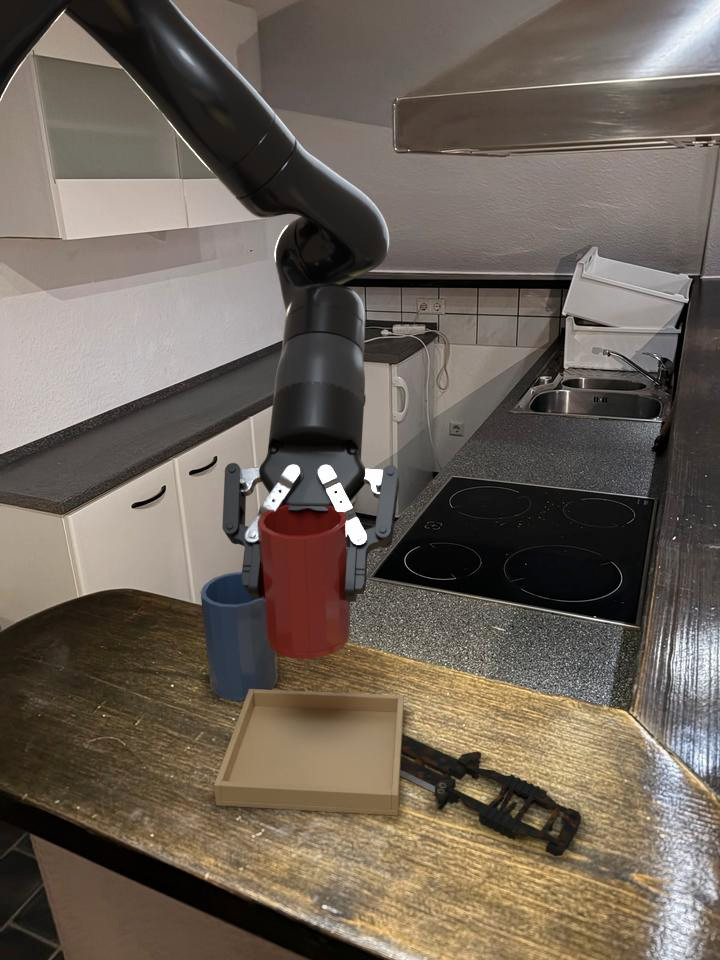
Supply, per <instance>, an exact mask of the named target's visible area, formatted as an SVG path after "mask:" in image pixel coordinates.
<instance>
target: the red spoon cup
mask: <svg viewBox="0 0 720 960" xmlns="http://www.w3.org/2000/svg"><path fill="white" fill-rule="evenodd" d="M290 506H292V505H282V506H281V507H280V508H278V509H277V510H276V512H275V513H274V510H268V511H266V512H265V513H263V514H262V515H261V516H260V518H259V520H258V536H259V550H260V564H261V578H262V591H263V605H264V619H265V632H266V637H267V643H268V645H269V646H270V648H271V649H272V650H273V651H275V652H276V653H277V655H280V656H283V657H285V658H290V659H295V660H314V659H320V658H325V657H328V656H331V655H333V654H335V653H336V652H339V651H340V650H342V649H343V648H344V647H345V646H346V645H347V643H348V641H349V639H350V638H351V637H350V635H351V606H350V605H351V604H350V603H351V602H350V601H346V598H345V577H346V561H347V547H349V540H348V523H347V516H346V514H345V513H344V512H343V511H336V509H335V508H334V506H324V507H326V508H327V509H328V512H325V513H324V512H322V513H320V514H318V513H314V512H311V511H307V512H304V513H298V512H297V513H295V512H290V511H288V508H289V507H290ZM273 513H274V514H273Z"/></svg>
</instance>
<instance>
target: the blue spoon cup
mask: <svg viewBox="0 0 720 960" xmlns="http://www.w3.org/2000/svg"><path fill="white" fill-rule="evenodd" d="M241 575H242V571H237V572H236V571H235V572H229V573H225V574H222V575H219V576H216V577H213V578H211V579H210V580H208V581H207V582H206V583H205V584H203V586H202V587H201V590H200V601H201V609H202V610H201V611H202V621H203V629H204V631H203V632H204V640H205V649H206V661H207V668H208V670H207V671H208V679H209V686H210V689H211V691H212V692H213V693H214V694H215V695H216V696H217V697H220V698H221V699H224V700H228V701H233V702H234V701H235V702H242V701H243V702H245V699H246V696H247V693H248V691H249V689H254V690H255V689H261V690H274V688H275V686H276V685H277V683H278V681H279V658H278V653H276V652H275V651H273V650H272V649H271V648H270V646H269V645H268V643H267V637H266V632H265V619H264V605H263V597H262V599H260V598H252V597H251V596H250V594H249V592H248V591H247V590H246V589H245V587H244V586H243V584H242V580H241Z"/></svg>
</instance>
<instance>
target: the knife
mask: <svg viewBox="0 0 720 960" xmlns="http://www.w3.org/2000/svg"><path fill="white" fill-rule="evenodd" d="M406 756H407V757H406ZM408 757H409V758H408ZM481 758H482V752H480V751H477V750H476V751H472V752H467V753H463V754H461V755H460V756H459V758H456V757H454V756H451V755H449V754H447V753H445V752H442V751H440V750H438V749H436V748H434V747H432V746H429V745H427V744H425V743H423V742H421V741H419V740H416V739H414V738H412V737H409V736H407V735H405V734H403V733H402V749H401V767H400V777H402V778H404V779H406V780H408V781H410V782H412V783H413V784H416V785H418V786H420V787H422V788H424V789H426V790H428V791H430V792H432V793H434V796H435V797H436V799H437V800H436V801H437V805H438V807H437V810H439V811H442V810H443V809H444V808H445V807H446V806H447V804H448V803H450V804H451V805H453V804H456V805H458V803H459V802H460V801H461V802H462V803H463V804H464V805H465V806H466V807H468V808H470V809H472V810H474V811H476V812H478V820H479V822H480V825H481V826H484V827H486V828H487V829H490V830H493V832H496V833H499V834H500V835H501V836H505V837H506V838H508V839H510V840H513V841H515V840H516V839H517V835H518V836H521V838H522V837H529V838H533V839H537V840H538V839H539V840H540V839H543V840H545V841H547V844H546V847H545V853H547V854H550V855H551V856H554V857H562V856H563V854H564V853H565V852H566V850H568V848H569V847H570V846H571V843H572V841H573V840H574V839H575V836H576V835H577V833H578V830H579V827H580V825H581V821H582V816H581V814H580V811H577V810H575V809H573V808H571V807H565V806H563V805H560V804H558V803H557V802H556V801H555V800H554V799H553V798H551V797H550V796H549V795H548V794H547V793H548V791H546V790H544V789H542V788H541V786H539V785H534V783H532V782H530V783H529V782H528V781H527V780H526V779H523V780H522V779H521V777H518V776H517V777H516V776H515V775H514V774H510V775H505V774H503V773H500V772H498V771H497V770H494V769H489V768H488V769H487V768H480V763H481V762H482V761H481ZM411 759H413V760H411ZM424 765H425V766H424ZM426 766H427V767H426ZM428 767H429V768H428ZM430 768H432V769H430ZM433 769H434V770H433ZM435 770H436V771H435ZM437 771H438V772H437ZM439 772H441V773H442V774H441V773H439ZM466 775H468V776H470V777H471V779H473V780H475V781H477V779H479V775H480V776H483V777H485V778H487V779H489V780H491V781H493V782H495V783H498V784H500V785H502V787H501V789H500V791H499V793H498V796H497V797H495V798H494V799H493V800H492V801H491V802H489V803H488V804H487V803H484V802H483V801H480V800H479V799H476V798H474V797H472V796H470V795H468V794H466V793H464V792H462V791H460V790H457V789H455V788H456V784H457V783H456V782H457V781H456V780H459V781H462V779H463V778H464V777H465V776H466ZM508 788H509V789H508ZM507 789H508V791H507ZM514 791H515V792H516V794H518V795H522V796H523V797H525V798H527V797H528V798H527V799H526V801H525V802H524V803H523V804H522V806H521V808H520V809H519V811H518V812H517V813H516V815H515V816H513V815H512V814H510V812H511V811H513V810H514V809H515V808H516V806H517V805H518V803H517V802H516V801H513V802H512V803H510V804H509V801H510V799H511V797H512V795H513V793H514ZM506 792H507V793H506ZM505 794H506V795H505ZM504 795H505V797H504ZM534 800H535V801H536V802H539V803H541V804H542V805H545V806H548V807H549V808H552V809H554V810H553V811H552V813H551V814H550V816H549V818H548V819H547V820H546V822H545V824H544V825H543V827H542V828H541V830H540V829H538V828H536V827H534V826H532V825H530V824H529V823H527V822H524V821H522V820H521V818H522V817H523V815H524V814H525V812H526V811H527V809H528V808H529V806H530V805H531V804H532V802H533V801H534ZM499 806H500V807H499ZM498 807H499V808H498ZM560 813H563V815H562V817H561V818H560V821H561V822H563V823H564V824H563V825H562V828H561V829H560V832H559V834H558V836H557V837H555V836H554V835H551V834H549V833H548V832H549V831H550V832H552V831H553V829H554V822H555V820H556V819H557V817H558V816H559V814H560Z"/></svg>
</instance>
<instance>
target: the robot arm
mask: <svg viewBox="0 0 720 960" xmlns="http://www.w3.org/2000/svg"><path fill="white" fill-rule="evenodd" d="M63 13H64V14H65V15H66V16H67V17H68V18H69V19H71V20H72V21H73V22H74V23H76V24H77V25H78V26H79V27H80V28H82V30H83V31H85V33H87V35H89V36H90V37H91V38H92V39H93V40H94V41H95V42H96V43H97V44H98V45H99V46H100V47H101V48H102V49H103V50H104V51H105V52H106V53H107V54H108V55H109V56H110V57H111V58H112V59H113V60H114V61H115V62H116V63H117V64H118V65H119V66H120V67H121V68H122V69H123V70H124V71H125V72H126V73H127V75H128V76H129V77H130V78H131V79H132V80H133V81H134V82H135V84H136V86H138V87H139V89H141V91H142V92H143V93H144V94H145V96H147V98H148V99H149V101H151V102H152V104H153V105H154V106H155V108H157V109H158V111H159V112H160V114H161V115H162V116H163V117H164V118H165V120H166V121H167V122H168V123H169V124H170V126H171V127H172V128H173V129H174V130H175V132H176V133H177V134H178V135H179V137H180V138H181V139H182V140H183V141H184V143H185V144H186V145H187V146H188V148H189V149H190V150H191V151H192V152H193V153H194V154H195V156H197V158H198V159H199V160H200V161H201V162H202V164H204V166H205V167H206V168H207V169H208V170H209V171H210V172H211V173H212V174H213V175H214V176H215V177H216V179H217V181H219V182H220V183H221V184H222V186H224V187H225V188H226V189H227V190H228V192H229V193H230V194H231V195H232V196H233V197H234V198H235V200H237V202H239V203H240V205H242V207H243V208H244V209H245V210H247V211H248V212H249V214H251V215H253V216H254V217H257V218H261V219H268V218H275V217H279V216H284V215H285V216H286V215H297V216H299V217H298V218H296V219H295V220H293V221H291V222H289V224H287V225H286V226H285V227H284V228H283V230H282V231H281V233H280V235H279V237H278V239H277V241H276V245H275V248H274V264H275V268H276V272H277V276H278V281H279V287H280V292H281V297H282V302H283V307H284V313H285V319H284V327H283V334H282V335H283V336H282V345H281V346H282V347H281V353H280V358H279V361H278V364H277V369H276V373H275V379H274V389H273V400H272V409H271V416H270V417H271V418H270V426H269V427H270V428H269V435H268V436H269V437H268V445H267V453H266V457H265V458H264V460H263V461H262V463H261V464H260V466H256V467H255V466H254V467H240V465H239V464H238V463H236V462H230V463H228V464H227V465H226V466H225V468H224V481H223V505H222V507H223V508H222V527H221V528H222V531H223V532H224V534H225V535H226V537H227V538H228V539H229V541H230V542H231V543H232V544H234V545H239V546H243V547H244V550H243V560H242V567H241V572H242V575H241V580H242V584H243V586H244V587H245V589H246V590H247V591H248V592H249V594H250V596H251V597H252V598H260V599H262V597H263V591H262V578H261V564H260V550H259V536H258V520H259V518H260V516H261V515H262V514H263V513H265V512H266V511H268V510H274V513H275V512H276V510H277V509H278V508H280V507H281V506H282V505H292V506H290V507H289V508H288V511H290V512H295V513H297V512H298V513H304V512H307V511H311V512H314V513H318V514H320V513H322V512H324V513H325V512H328V509H327V508H326V507H324V506H334V508H335V509H336V511H343V512H344V513H345V514H346V516H347V523H348V543H349V544H350V545H349V546H348V547H347V561H346V577H345V598H346V601H350V603H351V602H355V603H356V602H357V597H358V595H364V593H365V591H366V588H367V570H368V556H369V554H370V553H371V552H372V551H373V550H376V549H379V548H382V549H387V548H389V547H390V546H391V545H392V544H393V537H394V529H395V521H396V513H397V507H398V505H397V504H398V497H399V489H400V477H399V470H398V468H397V467H396V466H394V465H391V464H390V465H386V466H385V467H384V468H383V469H375V468H366V467H365V464H364V463H363V461H362V448H363V447H362V446H363V429H364V411H365V409H364V407H365V406H366V401H367V400H366V398H367V397H366V396H367V395H366V373H365V365H364V356H365V339H366V338H365V337H366V310H365V305H364V302H363V300H362V299H361V297H360V296H359V294H357V292H356V291H355V290H353V289H351V288H349V286H346V285H344V284H347V283H348V282H350V281H352V280H355V279H356V278H358V277H361V276H363V275H365V274H367V273H369V272H371V271H373V270H375V269H376V268H378V267H379V266H380V265H381V264H383V262H384V261H385V260H386V257H387V256H388V253H389V250H390V233H389V232H390V231H389V228H388V225H387V222H386V220H385V217H384V216H383V214H382V213H381V211H380V210H379V208H378V207H377V205H376V204H375V203H374V202H373V201H372V200H371V199H370V197H368V196H367V195H366V194H365V193H364V192H363V191H361V189H359V188H358V187H356V186H355V185H353V184H352V183H350V182H349V181H348V180H346V179H345V178H344V177H342V176H341V175H340V174H338V173H337V172H335V171H334V170H333V169H332V168H330V167H329V166H327V165H326V164H324V162H322V161H320V160H319V159H318V158H317V157H315V156H313V155H312V154H310V153H309V152H308V151H307V150H306V149H305V148H304V147H303V146H302V145H301V143H300V142H299V140H297V138H295V136H294V134H293V133H292V132H291V131H290V130H289V128H288V127H287V126H286V124H284V122H283V121H282V120H281V119H280V117H279V116H278V115H277V114H276V113H275V111H274V110H273V109H272V108H271V106H270V105H269V104H268V103H267V101H265V100H264V98H263V97H262V96H261V94H259V92H258V91H257V90H256V89H255V88H254V87H253V85H251V83H250V82H249V81H248V80H247V79H246V78H245V77H244V75H242V74H241V73H240V72H239V71H238V70H237V68H236V67H234V65H232V63H231V62H230V61H229V60H228V59H226V57H225V56H224V55H222V53H221V52H220V51H219V50H218V49H217V48H216V47H215V46H214V45H213V44H212V43H211V42H210V41H209V39H207V37H205V36H204V35H203V34H202V33H201V32H200V31H199V30H198V29H197V28H196V26H194V25H193V23H192V22H191V21H190V20H189V19H188V18H187V17H186V16H185V15H184V14H183V12H182V11H181V10H180V9H179V7H178V6H177V5H176V4H175V3H174V2H173V0H0V101H1V100H2V98H3V95H4V94H5V92H6V90H7V88H8V86H9V84H10V83H11V81H12V79H13V78H14V76H15V74H16V73H17V71H18V70H19V68H20V67H21V66H22V64H23V63H24V61H25V60H26V59H27V57H28V56H29V54H30V53H31V52H32V51H33V50H34V49H35V47H36V46H37V44H38V43H39V42H40V41H41V40H42V39H43V37H44V36H45V35H46V33H47V32H48V31H49V30H50V29H51V28H52V27H53V25H54V23H55V22H56V21H57V20H58V19H59V18H60V17H61V16H62V14H63ZM259 483H262V484H263V486H264V488H265V489H266V490H267V492H268V495H267V496H266V498H265V499H264V501H263V502H262V504H261V505H260V507H259V509H258V513H257V515H256V517H255V518H254V519H253V521H252V522H251V524H250V525H249V526H248V525H246V509H247V507H246V504H247V497H248V496H252V494H253V493H254V491H255V487H256V486H257V484H259ZM365 485H368V486H370V488H371V494H372V496H373V497H374V498H376V499H378V503H377V504H378V505H377V511H376V512H377V513H376V518H375V525H374V527H369V528H366V529H364V527H363V525H362V523H361V522H360V519H359V518H358V515H357V513H356V511H355V509H354V507H353V505H352V503H351V501H353V499H354V498H355V496H357V494H358V493H359V492H360V491H361V489H362V488H363V487H364V486H365ZM274 513H273V514H274Z"/></svg>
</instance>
